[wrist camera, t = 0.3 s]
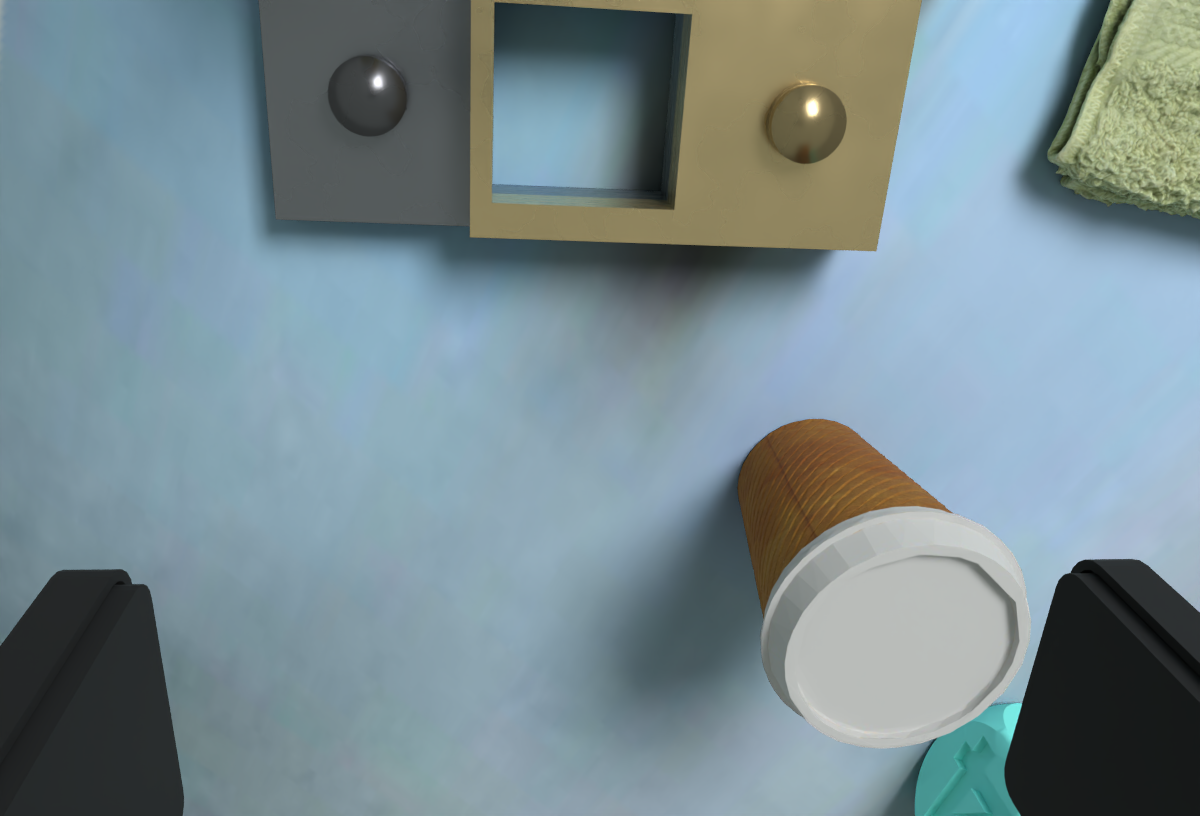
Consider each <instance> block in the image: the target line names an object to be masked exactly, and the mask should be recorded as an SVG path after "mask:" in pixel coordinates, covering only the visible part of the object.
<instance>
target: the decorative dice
mask: <svg viewBox="0 0 1200 816" xmlns="http://www.w3.org/2000/svg"><path fill="white" fill-rule="evenodd" d="M1021 706H1022V704H1020V703H1015V704H1000V705H994V706H989V707H988V708H987V709H986V710H984V711H983V712H982V713H981V714H980V715H979V716H978V717H976V718H974V719H973V720H971V721H969V722H968V723H966V724H964V725H963V726H961V727H959V728H958V729H956V730H954V731H952V732H951V733H949V734H946V735H943V736H940V737H938V738H937V739H936V740H935V742H934V743H933V744H932V746H931V747H930V749H929V751H928V753H927V755H926V756H925V759H924V761H923V763H922V766H921V769H920V772H919V776H918V780H917V785H916V792H915V816H1021V815H1020V813H1019V812H1018V810H1017V809H1016V807H1015V805H1014V804H1013V802H1012V800H1011V798H1010V796H1009V794H1008V791H1007V788H1006V784H1005V778H1004V767H1005V761H1006V758H1007V754H1008V751H1009V747H1010V744H1011V741H1012V737H1013V734H1014V730H1015V727H1016V723H1017V720H1018V717H1019V713H1020V710H1021Z"/></svg>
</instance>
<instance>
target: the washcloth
mask: <svg viewBox="0 0 1200 816" xmlns="http://www.w3.org/2000/svg"><path fill="white" fill-rule="evenodd" d="M1047 155H1048V159H1049V161H1050V162H1052V163H1054V164H1056V165H1058V166H1059V168H1058V170H1057V171H1056V173H1057V174H1061V175H1063V177H1062V178H1061V180H1060V183H1061V185H1062V186H1064V187H1067V188H1069V189H1072V190H1074V193H1075V194H1081V195H1082V196H1083V197H1084V198H1086V199H1094V200H1098V201H1100V202H1103V203H1105V204H1107V206H1108V207H1109V206H1110V205H1112V204H1113V203H1116V204H1121V203H1127V204H1135V205H1136V206H1137V207H1138V208H1140V209H1143V210H1145V211H1147V209H1149V210H1159V212H1162V211H1163V212H1166V213H1168V214H1170V215H1174V214H1179V215H1180V216H1181V217H1184V216H1186V215H1187V214H1188V215H1191V216H1192V217H1193V218H1197V219H1200V0H1110V4H1109V7H1108V10H1107V12H1106V15H1105V17H1104V21H1103V24H1102V27H1101V30H1100V32H1099V34H1098V37H1097V39H1096V41H1095V43H1094V46H1093V48H1092V50H1091V52H1090V55H1089V57H1088V59H1087V62H1086V64H1085V67H1084V69H1083V71H1082V74H1081V77H1080V80H1079V83H1078V86H1077V88H1076V91H1075V93H1074V95H1073V99H1072V102H1071V104H1070V106H1069V109H1068V112H1067V115H1066V117H1065V119H1064V121H1063V124H1062V126H1061V128H1060V129H1059V131H1058V133H1057V135H1056V137H1055V139H1054V140H1053V142H1052V144H1051V146H1050V148H1049V150H1048V153H1047Z"/></svg>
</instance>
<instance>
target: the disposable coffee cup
mask: <svg viewBox="0 0 1200 816" xmlns="http://www.w3.org/2000/svg"><path fill="white" fill-rule="evenodd" d="M738 497H739V503H740V507H741V511H742V517H743V521H744V526H745V531H746V536H747V541H748V546H749V551H750V555H751V560H752V565H753V569H754V575H755V580H756V585H757V589H758V595H759V599H760V604H761V609H762V613H763V624H762V629H761V634H760V640H761V654H762V662H763V666H764V669H765V672H766V674H767V677H768V680H769V682H770V684H771V685H772V687H773V689H774V691H775V692H776V693H777V694H778V696H779V697H780V698H781V700H782V701H783V702H784V703H785V704H786V705H787V706H789V707H790V708H791V709H792V710H793V711H795V712H796V713H797V714H798V715H800V716H802V717H804V719H805V720H806V721H807V722H808V723H809V724H810V725H812V726H813V727H814V728H816V729H817V730H818V731H820V732H821V733H823V734H825V735H827V736H829V737H831V738H833V739H835V740H837V741H839V742H843V743H848V744H852V745H856V746H860V747H868V748H897V747H904V746H909V745H915V744H920V743H924V742H926V741H929V740H932V739H935V738H937V737H940V736H943V735H946V734H949V733H951V732H952V731H954V730H956V729H958V728H959V727H961V726H963V725H964V724H966V723H968V722H969V721H971V720H973V719H974V718H976V717H978V716H979V715H980V714H981V713H982V712H983V711H984V710H986V709H987V708H988V707H989V706H990V705H991V704H992V703H993V702H994V701H995V700H996V699H997V698H998V697H1000V696H1001V695H1002V694H1003V693H1004V692H1005V690H1006V688H1007V687H1008V685H1009V684H1010V682H1011V681H1012V679H1013V678H1014V676H1015V675H1016V673H1017V672H1018V670H1019V669H1020V667H1021V666H1022V663H1023V660H1024V657H1025V654H1026V651H1027V647H1028V644H1029V641H1030V629H1031V618H1030V613H1029V607H1028V602H1027V600H1026V587H1025V583H1024V578H1023V574H1022V570H1021V568H1020V567H1019V565H1018V563H1017V561H1016V559H1015V557H1014V555H1013V553H1012V552H1011V551H1010V550H1009V549H1008V548H1007V546H1006V545H1005V544H1004V543H1003V542H1002V541H1001V540H1000V539H999V538H998V537H997V536H995V535H994V534H993V533H992V532H990V531H989V530H988V529H987V528H986V527H984V526H983V525H981V524H978V523H976V522H974V521H971V520H969V519H967V518H965V517H962V516H960V515H958V514H954V513H952V512H951V511H949V510H948V509H946V507H945V506H944V505H942V504H941V503H939V502H938V501H937V500H936V499H935V498H934V497H933V496H931V495H930V494H929V493H928V492H927V491H925V490H924V489H922V488H921V486H920V485H918V484H917V483H915V482H914V480H912V479H911V478H909V477H908V476H907V475H906V474H905V473H904V472H902V471H901V470H899V468H898V467H897V466H895V465H894V464H892V462H891V461H889V460H888V459H886V458H885V456H883V455H882V454H880V453H879V452H878V451H877V450H876V449H875V448H873V447H872V446H871V445H870V444H869V443H867V442H866V441H865V440H864V439H863V438H861V437H860V436H859V434H857V433H856V432H855V431H853V430H852V429H850V428H849V427H847V426H845V425H843V424H840V423H838V422H835V421H830V420H825V419H808V420H803V421H797V422H793V423H790V424H787V425H784V426H782V427H780V428H778V429H777V430H775V431H773V432H771V433H770V434H768V435H767V436H766V437H765V438H764V439H763V440H761V441H760V442H759V443H758V444H757V445H756V446H755V447H754V448H753V450H752V451H751V452H750V453H749V455H748V457H747V458H746V460H745V462H744V463H743V466H742V469H741V472H740V475H739V480H738Z"/></svg>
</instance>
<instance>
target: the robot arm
mask: <svg viewBox="0 0 1200 816" xmlns="http://www.w3.org/2000/svg"><path fill="white" fill-rule="evenodd" d="M1004 778H1005V784H1006V788H1007V791H1008V794H1009V796H1010V798H1011V800H1012V802H1013V804H1014V805H1015V807H1016V809H1017V810H1018V812H1019V813H1020V815H1021V816H1200V612H1198V611H1197V610H1196V609H1195V608H1194V607H1193V606H1192V605H1191V604H1190V603H1188V602H1187V601H1186V600H1185V599H1184V598H1183V597H1182V596H1181V595H1180V594H1179V593H1177V592H1176V591H1175V590H1174V589H1173V588H1172V587H1171V586H1170V585H1169V584H1168V583H1166V582H1165V581H1164V580H1163V579H1162V578H1161V577H1160V576H1159V575H1158V574H1156V573H1155V572H1154V571H1153V570H1152V569H1151V568H1150V567H1149V566H1148V565H1146V564H1144V563H1143V562H1141V561H1140V560H1134V559H1100V560H1083V561H1080V562H1078V563H1077V564H1076V565H1075V566H1074V567H1073V569H1072V571H1071V573H1068V574H1065V575H1063V576H1062V577H1061V578H1060V579H1059V581H1058V584H1057V586H1056V589H1055V593H1054V596H1053V599H1052V603H1051V606H1050V610H1049V613H1048V617H1047V620H1046V624H1045V627H1044V630H1043V634H1042V637H1041V641H1040V644H1039V648H1038V651H1037V655H1036V658H1035V661H1034V665H1033V668H1032V672H1031V675H1030V679H1029V682H1028V686H1027V689H1026V692H1025V696H1024V699H1023V703H1022V706H1021V710H1020V713H1019V717H1018V720H1017V723H1016V727H1015V730H1014V734H1013V737H1012V741H1011V744H1010V747H1009V751H1008V754H1007V758H1006V761H1005V767H1004ZM183 807H184V794H183V786H182V780H181V774H180V768H179V762H178V756H177V749H176V743H175V737H174V731H173V725H172V719H171V713H170V707H169V701H168V695H167V689H166V682H165V676H164V670H163V664H162V658H161V652H160V646H159V640H158V634H157V628H156V621H155V615H154V609H153V603H152V598H151V594H150V591H149V589H148V587H147V586H146V585H144V584H132V582H131V578H130V577H129V575H128V573H127V572H126V571H124V570H122V569H115V570H62V571H58V572H57V573H56V574H54V575H53V576H52V577H51V579H50V580H49V581H48V583H47V584H46V585H45V587H44V588H43V589H42V591H41V592H40V593H39V595H38V596H37V597H36V599H35V600H34V601H33V603H32V604H31V606H30V607H29V608H28V610H27V611H26V612H25V614H24V615H23V616H22V618H21V619H20V620H19V622H18V623H17V624H16V626H15V627H14V628H13V630H12V631H11V632H10V634H9V635H8V637H7V638H6V639H5V641H4V642H3V643H2V645H1V646H0V816H183Z"/></svg>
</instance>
